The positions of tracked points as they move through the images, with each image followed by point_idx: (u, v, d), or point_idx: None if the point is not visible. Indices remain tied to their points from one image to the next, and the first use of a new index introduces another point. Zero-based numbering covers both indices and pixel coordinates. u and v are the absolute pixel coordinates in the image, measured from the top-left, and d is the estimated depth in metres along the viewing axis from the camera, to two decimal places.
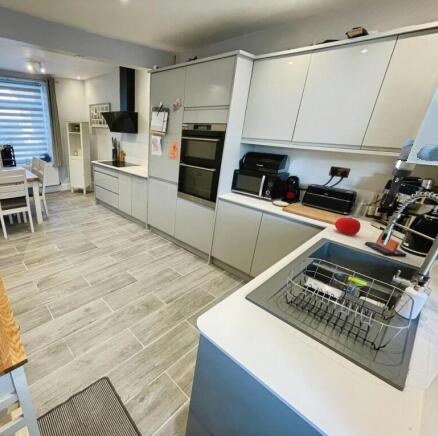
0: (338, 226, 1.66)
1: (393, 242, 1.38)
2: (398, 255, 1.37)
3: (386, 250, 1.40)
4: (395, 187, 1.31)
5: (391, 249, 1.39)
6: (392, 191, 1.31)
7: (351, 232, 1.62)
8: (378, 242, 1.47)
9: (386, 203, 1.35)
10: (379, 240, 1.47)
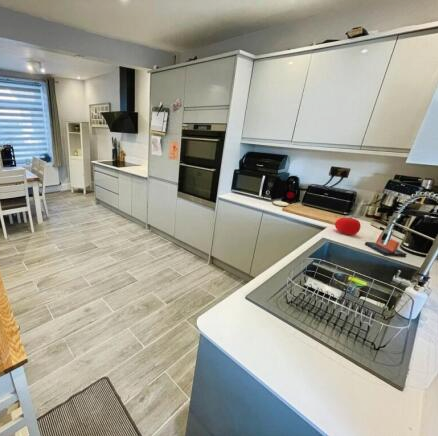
0: (338, 226, 1.66)
1: (393, 242, 1.38)
2: (398, 255, 1.37)
3: (386, 250, 1.40)
4: None
5: (391, 249, 1.39)
6: None
7: (351, 232, 1.62)
8: (378, 242, 1.47)
9: None
10: (379, 240, 1.47)
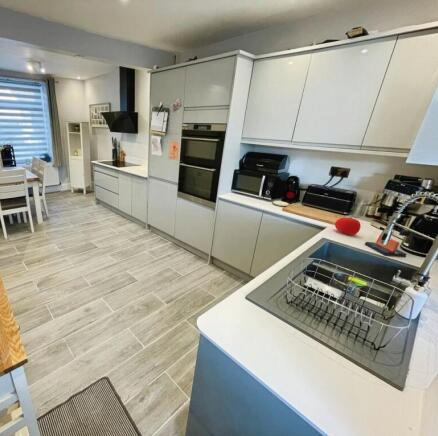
0: (338, 226, 1.66)
1: (393, 242, 1.38)
2: (398, 255, 1.37)
3: (386, 250, 1.40)
4: None
5: (391, 249, 1.39)
6: None
7: (351, 232, 1.62)
8: (378, 242, 1.47)
9: None
10: (379, 240, 1.47)
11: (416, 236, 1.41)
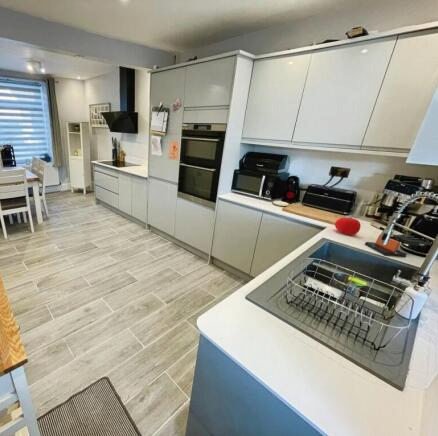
0: (338, 226, 1.66)
1: (394, 242, 1.38)
2: (398, 255, 1.37)
3: (386, 250, 1.40)
4: None
5: (392, 249, 1.39)
6: None
7: (351, 232, 1.62)
8: (377, 242, 1.47)
9: None
10: (378, 240, 1.47)
11: (400, 241, 1.42)
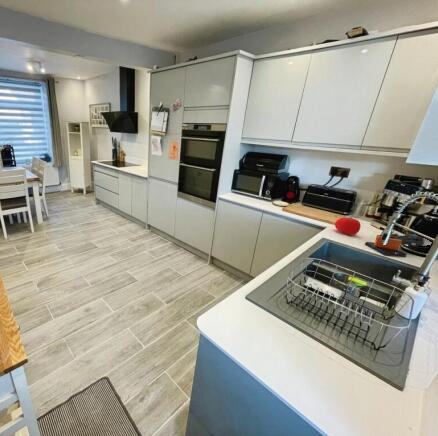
0: (338, 226, 1.66)
1: (397, 241, 1.40)
2: (398, 255, 1.37)
3: (386, 250, 1.40)
4: None
5: (396, 248, 1.41)
6: None
7: (351, 232, 1.62)
8: (377, 244, 1.44)
9: None
10: (378, 242, 1.43)
11: None
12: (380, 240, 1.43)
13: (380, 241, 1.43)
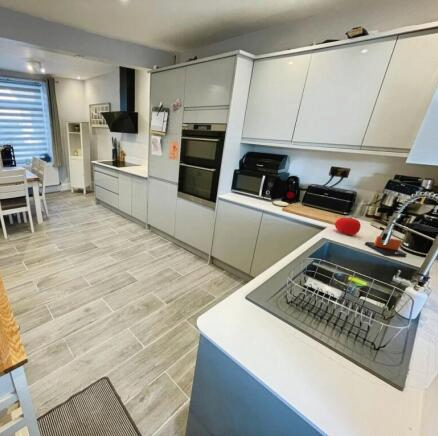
0: (338, 226, 1.66)
1: (397, 241, 1.40)
2: (398, 255, 1.37)
3: (386, 250, 1.40)
4: None
5: (396, 248, 1.41)
6: None
7: (351, 232, 1.62)
8: (377, 244, 1.44)
9: None
10: (378, 242, 1.43)
11: (420, 228, 1.39)
12: (380, 240, 1.43)
13: (380, 241, 1.43)
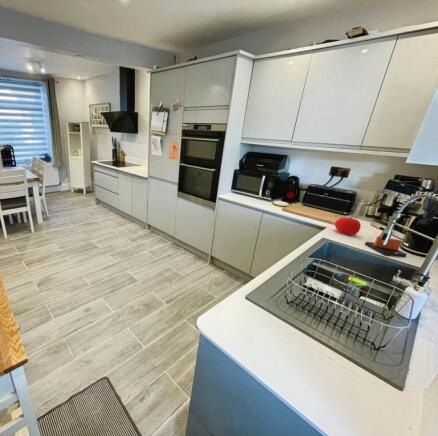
0: (338, 226, 1.66)
1: (397, 241, 1.40)
2: (398, 255, 1.37)
3: (386, 250, 1.40)
4: (427, 201, 1.32)
5: (396, 248, 1.41)
6: (425, 205, 1.32)
7: (351, 232, 1.62)
8: (377, 244, 1.44)
9: (424, 219, 1.33)
10: (378, 242, 1.43)
11: (434, 214, 1.32)
12: (380, 240, 1.43)
13: (380, 241, 1.43)
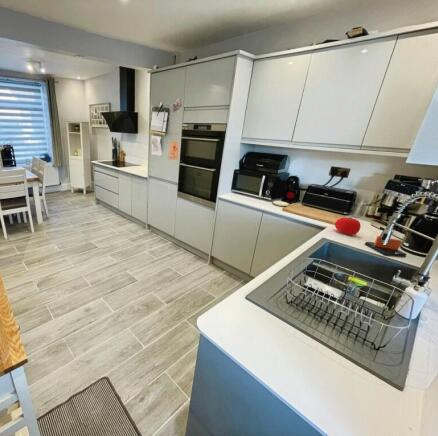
0: (338, 226, 1.66)
1: (397, 241, 1.40)
2: (398, 255, 1.37)
3: (386, 250, 1.40)
4: (433, 191, 1.28)
5: (396, 248, 1.41)
6: None
7: (351, 232, 1.62)
8: (377, 244, 1.44)
9: (430, 208, 1.32)
10: (378, 242, 1.43)
11: None
12: (380, 240, 1.43)
13: (380, 241, 1.43)
